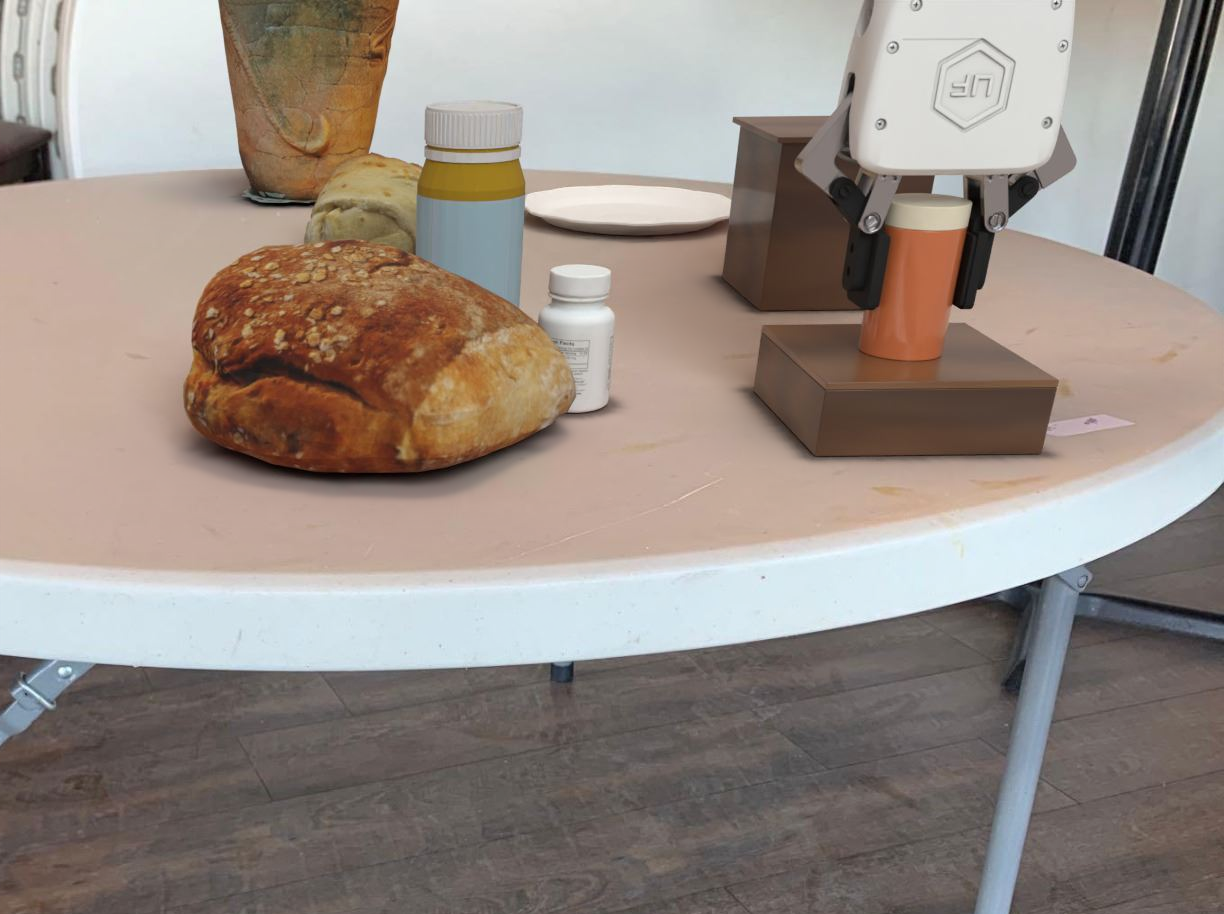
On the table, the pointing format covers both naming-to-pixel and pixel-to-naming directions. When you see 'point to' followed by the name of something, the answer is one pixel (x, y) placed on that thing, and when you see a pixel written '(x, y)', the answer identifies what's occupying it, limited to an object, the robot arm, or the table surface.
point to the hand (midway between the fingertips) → (908, 300)
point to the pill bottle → (582, 329)
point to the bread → (366, 362)
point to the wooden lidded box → (902, 394)
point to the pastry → (368, 203)
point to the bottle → (473, 193)
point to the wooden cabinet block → (788, 220)
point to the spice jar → (917, 277)
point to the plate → (628, 209)
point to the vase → (304, 87)
